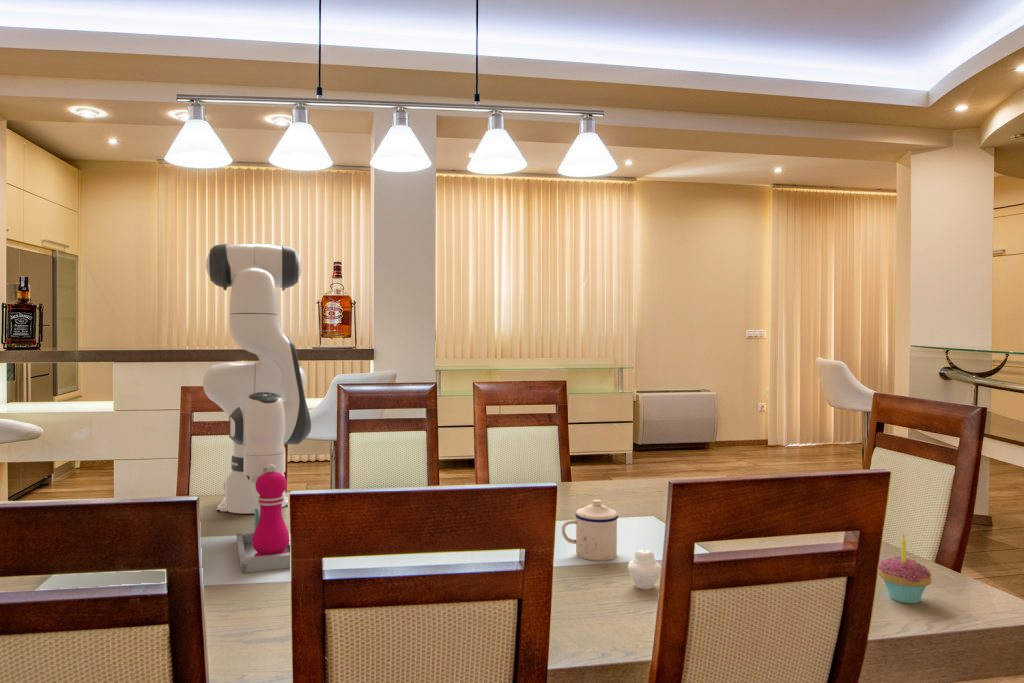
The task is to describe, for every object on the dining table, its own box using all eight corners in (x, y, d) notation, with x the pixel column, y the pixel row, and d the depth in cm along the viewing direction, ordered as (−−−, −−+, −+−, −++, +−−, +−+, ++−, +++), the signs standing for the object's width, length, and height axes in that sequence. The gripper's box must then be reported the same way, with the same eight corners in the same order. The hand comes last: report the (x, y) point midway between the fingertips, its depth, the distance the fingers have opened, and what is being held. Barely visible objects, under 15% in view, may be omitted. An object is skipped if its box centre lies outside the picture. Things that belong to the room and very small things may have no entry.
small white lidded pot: (620, 584, 128) (621, 547, 128) (642, 578, 132) (643, 542, 132) (645, 595, 123) (646, 556, 123) (667, 587, 127) (668, 550, 127)
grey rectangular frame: (236, 541, 152) (236, 510, 152) (290, 536, 157) (290, 505, 157) (241, 573, 132) (241, 537, 132) (302, 565, 137) (302, 531, 137)
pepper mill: (276, 569, 134) (277, 468, 134) (244, 566, 136) (244, 466, 136) (296, 558, 141) (296, 462, 141) (265, 555, 143) (265, 460, 143)
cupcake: (930, 611, 117) (932, 542, 117) (874, 601, 121) (875, 534, 121) (931, 595, 124) (932, 530, 124) (878, 586, 129) (879, 522, 129)
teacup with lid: (615, 548, 150) (615, 495, 150) (620, 562, 141) (620, 506, 141) (560, 547, 150) (561, 494, 150) (562, 560, 141) (562, 505, 141)
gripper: (284, 472, 145) (283, 537, 145) (275, 457, 163) (275, 514, 164) (252, 475, 142) (252, 541, 142) (247, 458, 161) (246, 517, 161)
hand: (264, 526), depth 153 cm, fingers closed on grey rectangular frame, 3 cm apart
